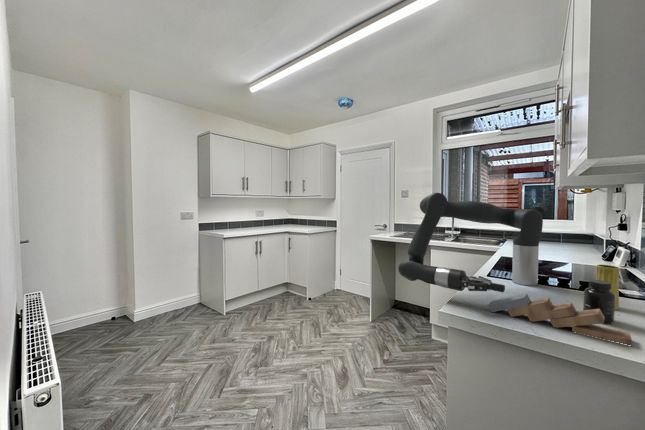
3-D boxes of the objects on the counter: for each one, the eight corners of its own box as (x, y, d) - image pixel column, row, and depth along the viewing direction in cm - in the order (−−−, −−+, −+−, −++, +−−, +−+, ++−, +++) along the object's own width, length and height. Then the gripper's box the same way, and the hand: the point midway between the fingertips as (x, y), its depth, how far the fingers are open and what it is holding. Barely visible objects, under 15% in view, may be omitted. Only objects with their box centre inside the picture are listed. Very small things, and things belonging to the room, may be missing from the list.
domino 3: (529, 309, 86) (571, 302, 79) (533, 317, 86) (576, 310, 79) (526, 314, 83) (570, 306, 76) (530, 322, 82) (575, 315, 75)
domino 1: (491, 301, 94) (527, 293, 87) (495, 307, 93) (531, 301, 86) (487, 305, 90) (524, 297, 83) (491, 312, 90) (528, 305, 82)
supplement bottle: (577, 316, 86) (579, 279, 85) (590, 313, 88) (591, 277, 87) (606, 326, 79) (608, 286, 79) (619, 322, 82) (621, 283, 81)
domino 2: (510, 305, 90) (548, 297, 83) (514, 312, 89) (553, 305, 82) (507, 309, 87) (546, 301, 79) (510, 316, 86) (551, 310, 79)
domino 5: (573, 320, 79) (629, 332, 71) (572, 328, 79) (629, 341, 71) (572, 325, 76) (631, 339, 68) (572, 334, 76) (631, 349, 68)
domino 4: (552, 314, 82) (599, 308, 75) (556, 322, 82) (604, 317, 74) (549, 319, 79) (598, 314, 71) (553, 327, 78) (603, 323, 71)
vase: (621, 311, 89) (623, 269, 88) (595, 307, 93) (597, 266, 92) (616, 305, 94) (618, 265, 93) (591, 302, 98) (593, 263, 97)
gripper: (443, 272, 97) (499, 282, 84) (456, 265, 106) (509, 273, 93) (443, 292, 97) (499, 305, 85) (456, 284, 106) (508, 294, 94)
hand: (504, 288), depth 89 cm, fingers closed
